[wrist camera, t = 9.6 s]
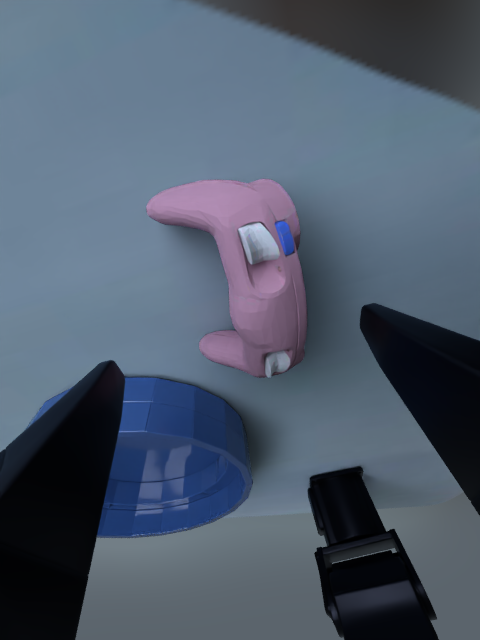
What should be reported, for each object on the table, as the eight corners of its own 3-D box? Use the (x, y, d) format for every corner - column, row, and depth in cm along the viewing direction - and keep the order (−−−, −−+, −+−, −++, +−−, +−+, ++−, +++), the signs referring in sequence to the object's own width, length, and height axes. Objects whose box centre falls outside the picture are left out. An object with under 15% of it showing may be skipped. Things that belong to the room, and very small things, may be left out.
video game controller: (252, 321, 19) (328, 377, 13) (197, 351, 17) (258, 428, 12) (221, 166, 13) (333, 161, 8) (133, 191, 11) (199, 205, 6)
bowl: (220, 351, 18) (223, 405, 14) (258, 467, 29) (265, 515, 25) (-25, 403, 18) (-82, 469, 15) (102, 498, 29) (87, 550, 25)
